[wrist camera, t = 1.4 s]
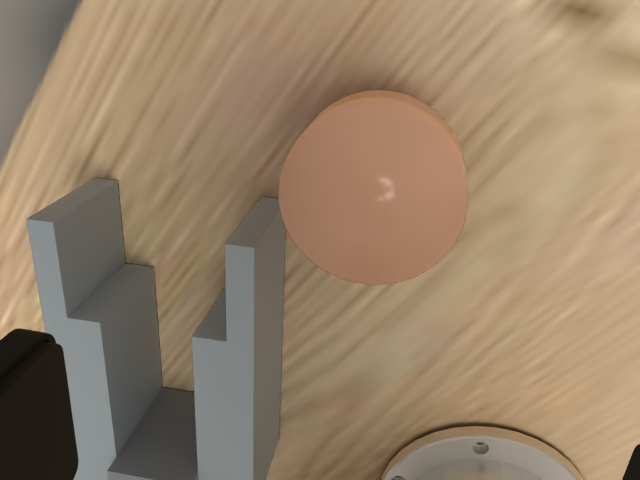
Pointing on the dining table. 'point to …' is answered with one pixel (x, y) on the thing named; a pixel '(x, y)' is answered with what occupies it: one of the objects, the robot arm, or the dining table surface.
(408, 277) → the peg
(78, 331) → the grey slotted stand
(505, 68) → the dining table surface
